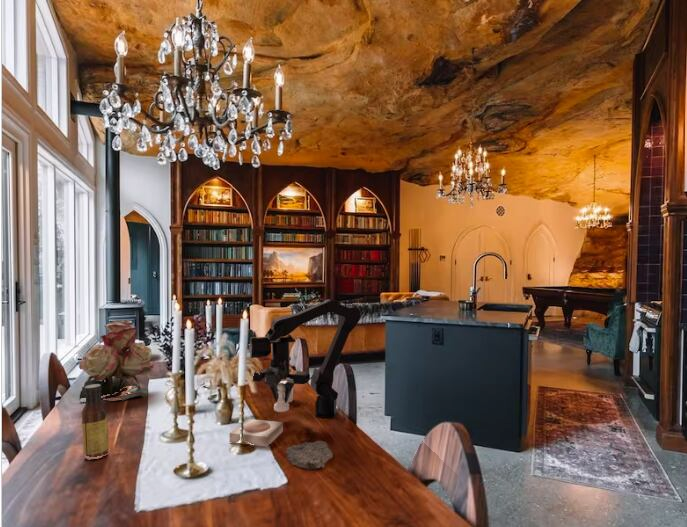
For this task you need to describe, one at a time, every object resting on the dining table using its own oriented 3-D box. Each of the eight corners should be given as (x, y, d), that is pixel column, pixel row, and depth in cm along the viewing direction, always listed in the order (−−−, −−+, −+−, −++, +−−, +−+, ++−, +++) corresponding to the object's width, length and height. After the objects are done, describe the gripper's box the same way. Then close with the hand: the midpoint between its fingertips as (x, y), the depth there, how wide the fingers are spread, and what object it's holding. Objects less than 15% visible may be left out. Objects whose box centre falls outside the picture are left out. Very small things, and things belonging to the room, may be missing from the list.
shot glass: (292, 403, 172) (292, 385, 172) (274, 403, 172) (274, 385, 172) (295, 397, 179) (294, 380, 179) (277, 397, 179) (277, 380, 179)
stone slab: (290, 475, 117) (290, 464, 117) (284, 448, 133) (284, 437, 133) (337, 470, 120) (337, 459, 119) (326, 444, 136) (326, 434, 136)
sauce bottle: (114, 453, 130) (112, 383, 129) (95, 463, 124) (94, 389, 123) (96, 450, 132) (94, 381, 131) (77, 459, 126) (75, 387, 126)
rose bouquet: (73, 408, 169) (72, 327, 169) (96, 386, 198) (94, 317, 197) (148, 402, 176) (146, 324, 175) (159, 381, 204) (158, 314, 203)
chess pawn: (271, 409, 155) (271, 382, 155) (284, 406, 158) (284, 380, 158) (278, 413, 151) (277, 385, 151) (291, 409, 154) (291, 383, 153)
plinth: (282, 431, 145) (282, 421, 145) (266, 447, 133) (266, 436, 133) (248, 428, 148) (247, 418, 148) (229, 443, 136) (229, 432, 136)
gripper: (244, 359, 148) (245, 407, 149) (298, 362, 144) (299, 412, 144) (259, 352, 159) (260, 397, 160) (310, 354, 154) (310, 401, 155)
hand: (281, 401), depth 154 cm, fingers closed on chess pawn, 3 cm apart
